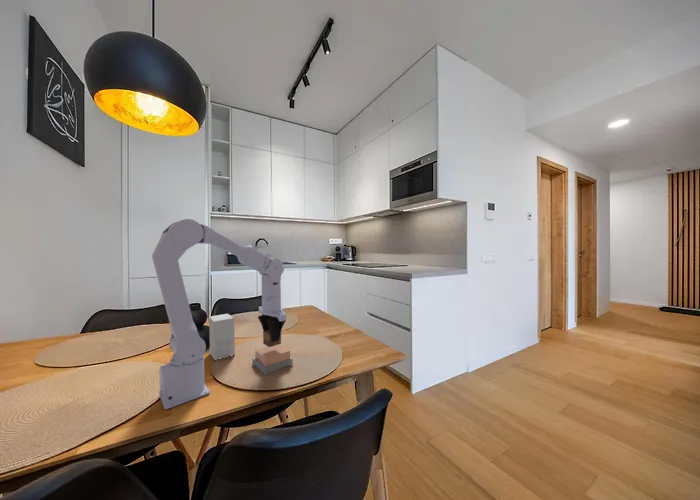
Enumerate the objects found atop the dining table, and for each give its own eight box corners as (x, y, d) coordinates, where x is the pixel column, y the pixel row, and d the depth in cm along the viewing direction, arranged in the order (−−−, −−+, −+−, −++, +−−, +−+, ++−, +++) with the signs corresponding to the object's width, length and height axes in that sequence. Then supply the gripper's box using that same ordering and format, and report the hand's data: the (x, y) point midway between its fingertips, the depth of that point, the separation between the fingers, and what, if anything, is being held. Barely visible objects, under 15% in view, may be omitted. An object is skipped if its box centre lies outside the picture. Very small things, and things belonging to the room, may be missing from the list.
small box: (235, 355, 88) (234, 317, 88) (214, 361, 84) (213, 321, 84) (228, 348, 94) (228, 313, 94) (209, 353, 90) (208, 316, 90)
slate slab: (265, 376, 75) (265, 368, 75) (252, 366, 82) (252, 358, 81) (292, 366, 81) (292, 358, 81) (278, 357, 88) (278, 350, 88)
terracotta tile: (265, 366, 76) (265, 358, 76) (255, 357, 82) (255, 350, 82) (290, 358, 81) (290, 350, 81) (278, 350, 87) (278, 343, 87)
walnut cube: (269, 347, 79) (268, 334, 78) (263, 343, 81) (263, 331, 81) (281, 343, 81) (280, 331, 81) (275, 340, 84) (274, 328, 84)
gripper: (294, 297, 78) (295, 341, 79) (272, 291, 89) (273, 330, 89) (273, 301, 74) (274, 348, 74) (252, 294, 84) (253, 335, 84)
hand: (272, 339), depth 81 cm, fingers closed on walnut cube, 4 cm apart
